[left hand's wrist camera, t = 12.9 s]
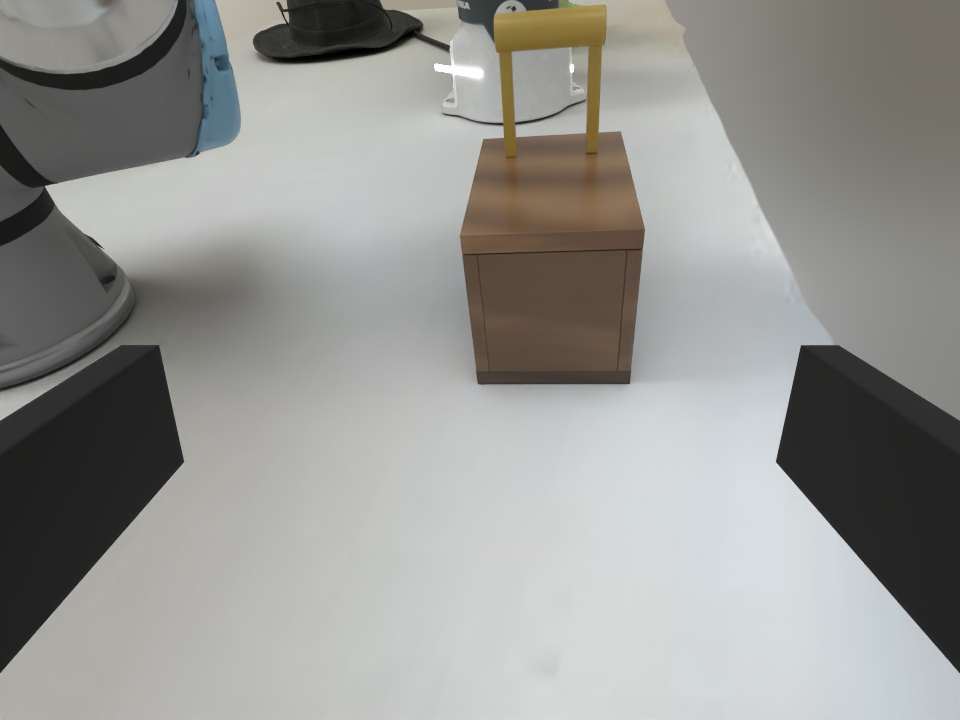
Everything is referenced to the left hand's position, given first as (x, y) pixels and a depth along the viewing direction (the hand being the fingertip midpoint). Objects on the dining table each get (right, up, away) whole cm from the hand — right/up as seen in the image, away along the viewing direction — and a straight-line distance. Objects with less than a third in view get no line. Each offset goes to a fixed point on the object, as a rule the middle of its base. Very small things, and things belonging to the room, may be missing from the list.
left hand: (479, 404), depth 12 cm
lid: (+4, +11, +23) cm, 26 cm away
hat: (-28, +65, +107) cm, 128 cm away
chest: (+5, +4, +29) cm, 30 cm away
